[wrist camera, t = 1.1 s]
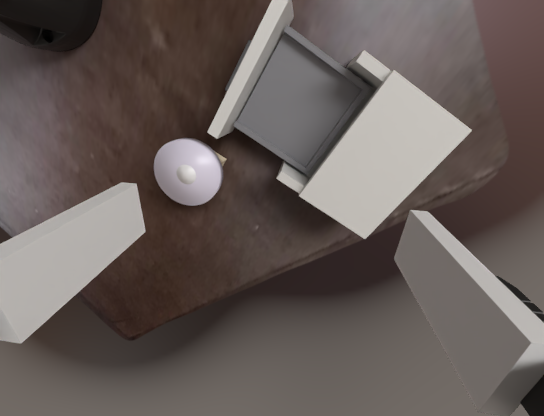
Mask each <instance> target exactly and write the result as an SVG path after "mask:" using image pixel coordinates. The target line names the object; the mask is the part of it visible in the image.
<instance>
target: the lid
mask: <svg viewBox="0 0 544 416" xmlns="http://www.w3.org/2000/svg"><path fill="white" fill-rule="evenodd" d="M154 173H155V177H156V180H157V182H158V184H159V186H160V188H161V189H162V190H163V192H164V193H165V194H166V195H167V196H169V197H170V198H171V199H173V200H174V201H176V202H178V203H181V204H184V205H189V206H195V205H200V204H203V203H205V202H207V201H209V200H210V199H211V198H212V197H213V196H214V195H215V194H216V193H217V192H218V190H219V189H220V187H221V185H222V181H223V168H222V164H221V161H220V159H219V157H218V156H217V154H216V153H215V152H214V150H213V149H212V148H211V147H209V146H208V145H207V144H205V143H204V142H202V141H200V140H197V139H193V138H180V139H177V140H174V141H171V142H169V143H167V144H165V145H164V146H163V147H162V148H161V149H160V150H159V151H158V153H157V155H156V157H155V161H154Z"/></svg>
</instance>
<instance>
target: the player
mask: <svg viewBox="0 0 544 416" xmlns="http://www.w3.org/2000/svg"><path fill="white" fill-rule="evenodd" d="M346 69H347V70H348V71H350V72H351V73H352V74H354V75H355V76H356V77H358V78H359V79H360V80H362V81H363V82H364V83H366V84H367V85H368V86H370V87H371V89H370V90H369V92H368V93H367V94H366V96H365V97H364V98H363V100H362V101H361V103H360V104H359V105H358V107H357V108H356V109H355V111H354V112H353V113H352V115H351V116H350V117H349V119H348V120H347V121H346V123H345V124H344V126H343V127H342V128H341V130H340V131H339V132H338V134H337V135H336V136H335V138H334V139H333V140H332V142H331V143H330V145H329V146H328V147H327V149H326V150H325V151H324V153H323V154H322V155H321V157H320V158H319V159H318V161H317V162H316V164H315V165H314V166H313V168H312V169H311V170H310V172H309V173H308V174H307V175H306V174H305V173H303V172H302V171H300V170H299V169H297V168H296V167H294V166H293V165H291V164H290V163H288V162H287V161H285V160H284V161H283V163H282V164H281V167H280V170H279V172H278V175H277V178H276V179H278V180H279V181H281V182H282V183H284V184H285V185H287V186H288V187H290V188H291V189H293V190H295V191H296V192H298V193H299V196H300V197H301V198H303V199H304V200H306V201H307V202H309V203H310V204H312V205H313V206H315V207H316V208H318V209H320V210H321V211H323V212H324V213H326V214H327V215H329V216H330V217H332V218H333V219H335V220H336V221H338V222H339V223H341V224H343V225H344V226H346V227H347V228H349V229H350V230H352V231H353V232H355V233H356V234H358V235H359V236H361V237H363V238H364V239H366V238H367V237H368V236H369V235H370V234H371V233H372V232H373V230H374V229H375V228H376V227H377V226H378V225H379V224H380V223H381V222H382V221H383V220H384V219H385V218H386V217H387V216H388V215H389V214H390V213H391V212H392V211H393V210H394V209H395V208H396V207H397V206H398V205H399V204H400V203H401V202H402V201H403V200H404V199H405V198H406V197H407V196H408V195H409V194H410V193H411V192H412V191H413V190H414V189H415V188H416V187H417V186H418V185H419V184H420V183H421V182H422V181H423V180H424V179H425V178H426V177H427V176H428V175H429V174H430V173H431V172H432V171H433V170H434V169H435V168H436V167H437V166H438V165H439V164H440V163H441V162H442V161H443V159H444V158H445V157H446V156H447V155H448V154H449V153H450V152H451V151H452V150H453V149H454V148H455V147H456V146H457V145H458V144H459V143H460V142H461V141H462V140H463V139H464V138H465V137H466V136H467V135H468V134H469V133H470V132H471V131H472V130H471V129H470V128H468V127H467V126H466V125H465V124H463V123H462V122H461V121H459V120H458V119H457V118H455V117H454V116H453V115H452V114H450V113H449V112H448V111H446V110H445V109H444V108H443V107H441V106H440V105H439V104H437V103H436V102H435V101H434V100H432V99H431V98H430V97H428V96H427V95H426V94H424V93H423V92H422V91H421V90H419V89H418V88H417V87H415V86H414V85H413V84H412V83H410V82H409V81H408V80H406V79H405V78H404V77H402V76H401V75H400V74H399V73H397V72H396V71H395V70H392V71H391V70H389V69H388V68H387V67H385V66H384V65H383V64H381V63H380V62H379V61H378V60H376V59H375V58H374V57H372V56H371V55H370V54H369V53H367V52H366V51H365V50H363V51H362V52H361V53H359V54H358V55H357V56H356V57H354V58H353V59H352V60H351V61H350V63H349V64H348V66H347V67H346Z"/></svg>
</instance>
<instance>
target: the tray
mask: <svg viewBox="0 0 544 416" xmlns="http://www.w3.org/2000/svg"><path fill="white" fill-rule="evenodd" d="M293 18H294V13H293V6H292V0H272V1H271V3H270V5H269V7H268V9H267V11H266V14H265V16H264V18H263V20H262V22H261V24H260V26H259V28H258V30H257V32H256V34H255V36H254V38H253V40H252V41H250V40H249V41H248V43H247V45H246V47H245V49H244V51H243V53H242V55H241V57H240V59H239V61H238V64H237V66H236V68H235V70H234V72H233V74H232V76H231V78H230V80H229V82H228V84H227V86H226V88H225V90H226V91H227V93H226V95H225V97H224V99H223V101H222V103H221V105H220V107H219V109H218V111H217V113H216V115H215V118H214V120H213V122H212V124H211V126H210V128H209V130H208V132H207V133H209V134H210V135H212V136H213V137H215V138H216V139H218V138H220V137H222V136H224V135H226V134H229V133H231V132H232V131H233V130H234V128H235V127H236V128H237V129H239V130H240V131H242V132H243V133H245V134H246V135H248V136H249V137H251V138H252V139H254V140H255V141H257V142H258V143H260V144H261V145H263V146H264V147H266V148H267V149H269V150H270V151H272V152H273V153H275V154H276V155H278V156H279V157H281V158H282V159H284V160H285V161H287V162H288V163H290V164H291V165H293V166H294V167H296V168H297V169H299V170H300V171H302V172H303V173H305V174H306V175H307V174H308V173H309V172H310V170H311V169H312V168H313V166H314V165H315V164H316V162H317V161H318V159H319V158H320V157H321V155H322V154H323V153H324V151H325V150H326V149H327V147H328V146H329V145H330V143H331V142H332V140H333V139H334V138H335V136H336V135H337V134H338V132H339V131H340V130H341V128H342V127H343V126H344V124H345V123H346V121H347V120H348V119H349V117H350V116H351V115H352V113H353V112H354V111H355V109H356V108H357V107H358V105H359V104H360V103H361V101H362V100H363V98H364V97H365V96H366V94H367V93H368V92H369V90H370V89H371V87H370V86H368V85H367V84H366V83H364V82H363V81H362V80H360V79H359V78H358V77H356V76H355V75H354V74H352V73H351V72H350V71H348V70H347V69H346V68H344V67H343V66H342V65H340V64H339V63H338V62H336V61H335V60H334V59H332V58H331V57H330V56H328V55H327V54H326V53H324V52H323V51H322V50H320V49H319V48H318V47H316V46H315V45H314V44H312V43H311V42H310V41H308V40H307V39H306V38H304V37H303V36H302V35H300V34H299V33H298V32H296V31H295V30H294V29H292V28H291V27H290V26H289V25H290V23H291V22H292V20H293Z"/></svg>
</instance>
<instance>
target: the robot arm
mask: <svg viewBox="0 0 544 416" xmlns="http://www.w3.org/2000/svg"><path fill="white" fill-rule="evenodd" d="M101 4H102V0H0V33H1V34H3V35H5V36H7V37H9V38H11V39H13V40H15V41H17V42H19V43H22V44H25V45H28V46H31V47H35V48H40V49H46V50H51V51H67V50H71V49H74V48H76V47H78V46H79V45H81V44H82V43H83V42H85V41H86V40H87V39H88V37H89V36H90V35H91V33H92V32H93V30H94V28H95V26H96V24H97V21H98V19H99V15H100V11H101ZM145 232H146V231H145V226H144V221H143V215H142V210H141V205H140V200H139V194H138V189H137V184H134V183H123V182H122V183H120V184H118V185H116V186H114V187H112V188H110V189H108V190H106V191H104V192H102V193H100V194H98V195H96V196H94V197H92V198H90V199H88V200H86V201H84V202H82V203H80V204H78V205H76V206H74V207H72V208H70V209H68V210H66V211H64V212H62V213H61V214H59V215H57V216H55V217H53V218H51V219H49V220H47V221H45V222H43V223H41V224H39V225H37V226H35V227H33V228H31V229H29V230H27V231H25V232H23V233H21V234H19V235H17V236H15V237H13V238H11V239H9V240H7V241H5V242H3V243H1V244H0V340H1V341H8V342H14V343H22V342H23V341H24V340H26V339H27V338H28V337H29V336H30V335H31V334H32V333H33V332H35V331H36V330H37V329H38V328H39V327H40V326H41V325H42V324H43V323H45V322H46V321H47V320H48V319H49V318H50V317H51V316H52V315H53V314H55V313H56V312H57V311H58V310H59V309H60V308H61V307H62V306H63V305H64V304H66V303H67V302H68V301H69V300H70V299H71V298H72V297H73V296H75V295H76V294H77V293H78V292H79V291H80V290H81V289H82V288H83V287H85V286H86V285H87V284H88V283H89V282H90V281H91V280H92V279H93V278H95V277H96V276H97V275H98V274H99V273H100V272H101V271H102V270H103V269H105V268H106V267H107V266H108V265H109V264H110V263H111V262H112V261H113V260H115V259H116V258H117V257H118V256H119V255H120V254H121V253H122V252H123V251H125V250H126V249H127V248H128V247H129V246H130V245H131V244H132V243H133V242H135V241H136V240H137V239H138V238H139V237H140V236H141V235H142V234H143V233H145ZM394 260H395V262H396V264H397V265H398V267H399V269H400V271H401V273H402V274H403V276H404V278H405V280H406V282H407V284H408V285H409V287H410V289H411V291H412V293H413V295H414V296H415V298H416V300H417V301H418V304H419V305H420V307H421V309H422V311H423V312H424V314H425V316H426V318H427V320H428V322H429V324H430V325H431V327H432V329H433V331H434V333H435V335H436V336H437V338H438V340H439V342H440V344H441V346H442V347H443V349H444V351H445V353H446V354H447V356H448V358H449V360H450V362H451V364H452V365H453V367H454V369H455V371H456V373H457V375H458V376H459V378H460V380H461V382H462V384H463V386H464V387H465V389H466V391H467V393H468V395H469V397H470V398H471V400H472V402H473V404H474V406H475V407H476V409H477V411H478V412H480V413H486V414H493V415H500V416H510V415H511V414H512V413H513V412H514V411H515V409H516V408H517V407H518V406H519V405H520V404H522V405H523V407H524V408H525V410H526V411H527V413H528V414H529V415H530V416H544V314H543V313H542V311H541V310H540V309H539V308H538V307H537V306H536V305H535V304H533V303H530V300H529V299H528V298H527V297H526V296H525V295H524V294H523V293H522V292H520V291H519V290H518V289H517V288H516V287H514V286H513V285H511V284H510V283H508V282H506V281H505V280H503V279H502V278H500V277H498V276H494V275H493V274H492V273H491V272H490V271H489V270H488V269H487V268H486V267H485V266H484V265H483V264H482V263H481V262H480V261H479V260H478V259H477V258H476V257H475V256H473V255H472V254H471V253H470V252H469V251H468V250H467V249H466V248H465V247H464V246H463V245H462V244H461V243H460V242H459V241H458V240H457V239H456V238H455V237H454V236H453V235H452V234H450V233H449V232H448V231H447V230H446V229H445V228H444V227H443V226H442V225H441V224H440V223H439V222H438V221H437V220H436V219H435V218H434V217H433V216H432V215H431V214H429V212H426V211H416V210H410V212H409V215H408V218H407V221H406V224H405V228H404V231H403V233H402V236H401V239H400V242H399V245H398V249H397V251H396V254H395V257H394Z"/></svg>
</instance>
